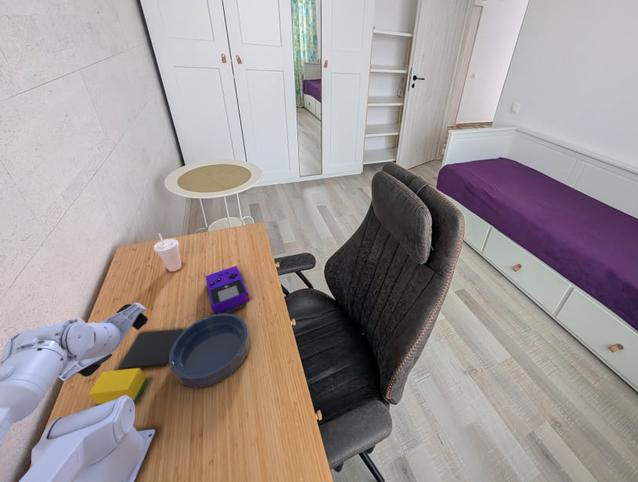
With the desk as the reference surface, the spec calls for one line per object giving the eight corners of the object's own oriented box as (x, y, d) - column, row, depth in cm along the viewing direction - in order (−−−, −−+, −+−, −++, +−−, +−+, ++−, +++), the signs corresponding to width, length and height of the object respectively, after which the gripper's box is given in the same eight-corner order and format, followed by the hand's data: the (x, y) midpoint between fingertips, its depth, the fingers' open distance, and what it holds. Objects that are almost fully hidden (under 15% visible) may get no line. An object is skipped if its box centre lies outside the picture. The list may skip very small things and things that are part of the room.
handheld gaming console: (236, 264, 91) (247, 291, 80) (239, 277, 93) (250, 305, 82) (204, 275, 86) (210, 305, 75) (208, 288, 88) (215, 319, 77)
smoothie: (164, 263, 94) (150, 229, 87) (187, 258, 97) (175, 225, 90) (161, 276, 89) (146, 241, 82) (185, 271, 92) (172, 237, 85)
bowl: (241, 384, 64) (237, 373, 61) (161, 394, 61) (154, 383, 59) (256, 321, 78) (253, 310, 75) (191, 327, 75) (186, 316, 73)
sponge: (136, 402, 60) (127, 389, 57) (98, 406, 58) (87, 394, 56) (147, 380, 63) (139, 367, 61) (112, 384, 62) (102, 371, 60)
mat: (166, 364, 66) (166, 363, 66) (119, 369, 65) (118, 368, 65) (183, 330, 74) (182, 329, 74) (140, 334, 73) (139, 332, 72)
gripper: (111, 290, 52) (142, 296, 63) (20, 367, 45) (74, 357, 57) (141, 314, 52) (166, 315, 64) (55, 395, 45) (102, 378, 57)
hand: (125, 336), depth 60 cm, fingers open, 7 cm apart
